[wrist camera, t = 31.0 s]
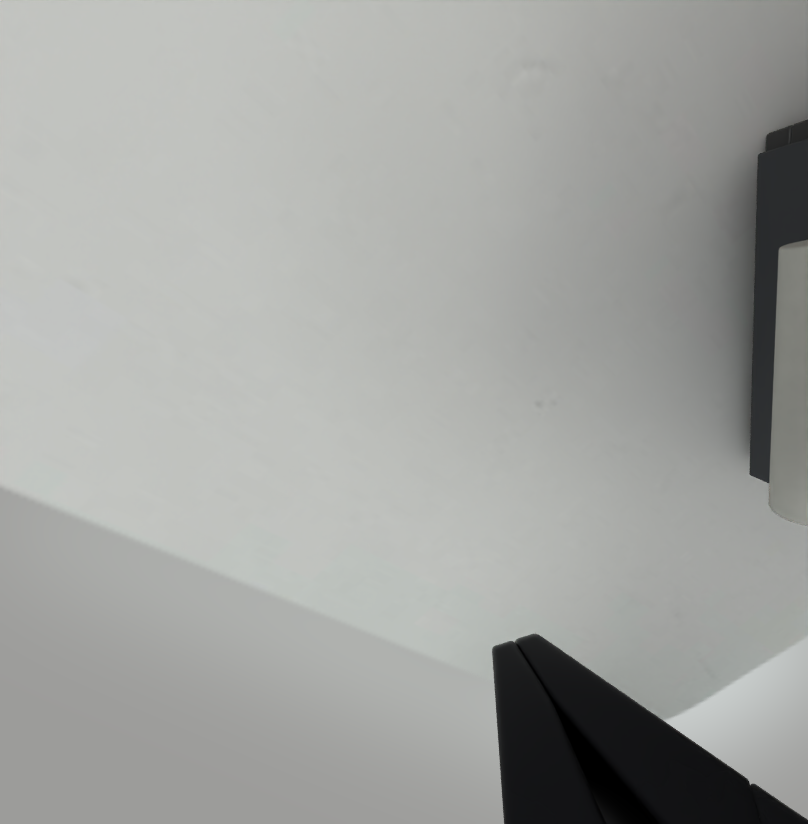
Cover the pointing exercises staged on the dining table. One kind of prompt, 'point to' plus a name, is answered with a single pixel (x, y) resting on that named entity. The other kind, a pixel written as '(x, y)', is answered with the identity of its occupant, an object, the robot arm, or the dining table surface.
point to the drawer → (781, 331)
